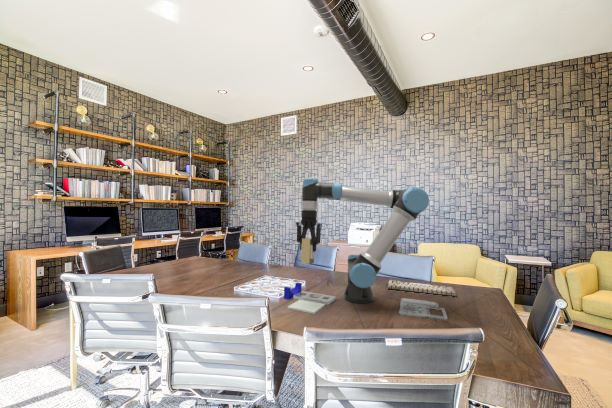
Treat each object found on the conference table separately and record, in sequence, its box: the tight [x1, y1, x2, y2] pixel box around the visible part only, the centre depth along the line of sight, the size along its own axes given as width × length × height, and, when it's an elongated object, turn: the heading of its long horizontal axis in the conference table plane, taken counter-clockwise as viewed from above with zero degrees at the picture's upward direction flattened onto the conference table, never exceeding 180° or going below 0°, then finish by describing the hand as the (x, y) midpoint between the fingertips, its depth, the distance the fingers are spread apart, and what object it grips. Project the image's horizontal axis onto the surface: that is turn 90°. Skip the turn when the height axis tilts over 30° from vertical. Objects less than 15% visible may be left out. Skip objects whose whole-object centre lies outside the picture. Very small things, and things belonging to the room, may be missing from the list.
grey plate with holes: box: [292, 290, 337, 306], centre depth 147 cm, size 20×10×2 cm, turn 63°
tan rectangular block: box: [300, 237, 315, 265], centre depth 138 cm, size 4×4×12 cm
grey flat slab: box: [398, 297, 448, 321], centre depth 135 cm, size 23×3×20 cm
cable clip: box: [283, 281, 303, 300], centre depth 152 cm, size 12×4×6 cm, turn 148°
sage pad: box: [286, 299, 326, 315], centre depth 135 cm, size 14×12×1 cm
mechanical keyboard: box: [386, 279, 457, 298], centre depth 167 cm, size 38×19×3 cm, turn 71°
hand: (307, 257), depth 138 cm, fingers closed on tan rectangular block, 4 cm apart
